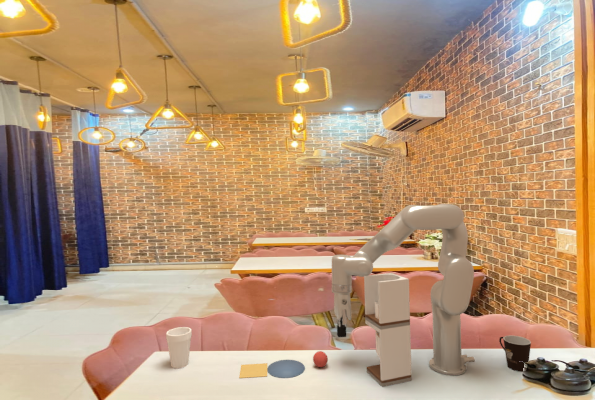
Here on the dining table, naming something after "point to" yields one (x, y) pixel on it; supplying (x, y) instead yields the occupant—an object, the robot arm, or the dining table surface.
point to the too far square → (253, 370)
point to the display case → (389, 326)
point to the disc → (286, 368)
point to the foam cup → (179, 346)
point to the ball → (320, 359)
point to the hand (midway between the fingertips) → (341, 336)
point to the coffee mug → (516, 351)
